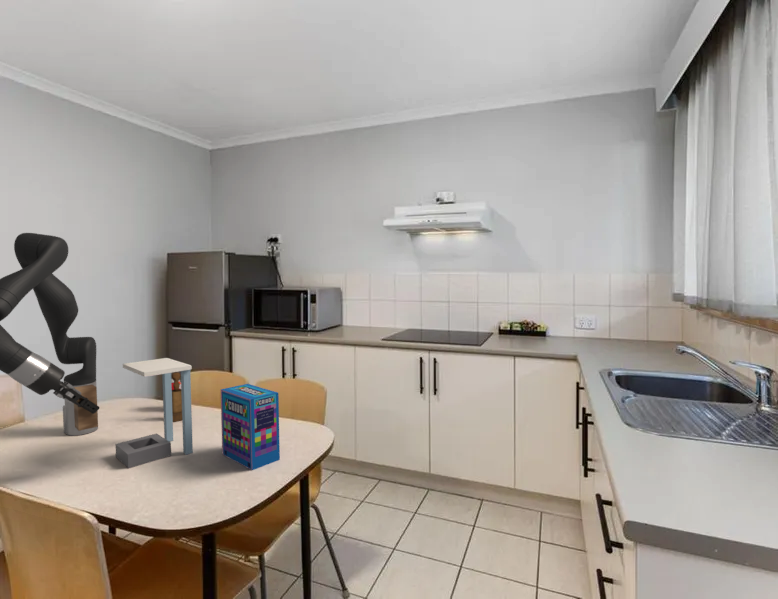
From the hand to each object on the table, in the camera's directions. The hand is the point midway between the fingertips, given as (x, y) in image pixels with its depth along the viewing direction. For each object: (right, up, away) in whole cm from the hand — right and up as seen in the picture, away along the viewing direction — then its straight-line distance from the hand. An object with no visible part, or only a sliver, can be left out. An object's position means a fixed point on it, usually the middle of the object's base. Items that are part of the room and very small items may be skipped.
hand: (94, 408), depth 118 cm
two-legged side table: (+11, -17, +13) cm, 24 cm away
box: (+41, -17, +9) cm, 45 cm away
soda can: (-6, -15, +56) cm, 58 cm away
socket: (+8, -17, +10) cm, 21 cm away
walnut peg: (-1, -5, -1) cm, 5 cm away
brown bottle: (+1, -15, +44) cm, 47 cm away
